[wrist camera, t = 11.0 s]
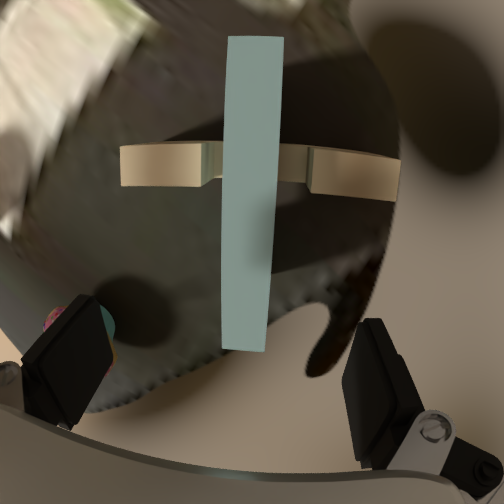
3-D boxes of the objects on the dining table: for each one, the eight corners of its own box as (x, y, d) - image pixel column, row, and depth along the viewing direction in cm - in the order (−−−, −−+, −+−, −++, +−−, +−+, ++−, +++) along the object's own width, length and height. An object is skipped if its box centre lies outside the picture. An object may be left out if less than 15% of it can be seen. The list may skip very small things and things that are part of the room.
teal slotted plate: (249, 76, 20) (228, 36, 11) (281, 77, 20) (283, 37, 11) (241, 272, 26) (222, 348, 17) (270, 274, 26) (264, 352, 17)
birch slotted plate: (162, 170, 23) (121, 186, 17) (162, 141, 22) (120, 146, 16) (364, 182, 22) (396, 201, 16) (367, 152, 21) (401, 160, 15)
